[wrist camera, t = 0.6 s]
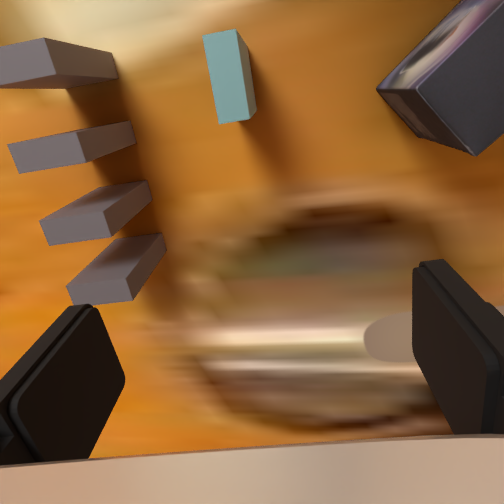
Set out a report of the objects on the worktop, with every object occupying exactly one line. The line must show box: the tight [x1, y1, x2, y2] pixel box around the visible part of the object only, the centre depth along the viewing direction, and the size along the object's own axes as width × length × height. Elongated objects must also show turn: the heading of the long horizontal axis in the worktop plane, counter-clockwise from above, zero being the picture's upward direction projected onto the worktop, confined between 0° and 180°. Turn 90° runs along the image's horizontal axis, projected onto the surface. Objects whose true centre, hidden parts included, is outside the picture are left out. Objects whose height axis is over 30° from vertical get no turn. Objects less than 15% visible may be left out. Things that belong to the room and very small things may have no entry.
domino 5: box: [202, 29, 257, 124], centre depth 27 cm, size 2×5×10 cm, turn 9°
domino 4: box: [66, 233, 167, 305], centre depth 34 cm, size 2×5×10 cm, turn 99°
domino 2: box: [7, 121, 136, 174], centre depth 30 cm, size 2×5×10 cm, turn 99°
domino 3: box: [39, 180, 152, 246], centre depth 32 cm, size 2×5×10 cm, turn 99°
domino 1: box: [0, 38, 118, 89], centre depth 27 cm, size 2×5×10 cm, turn 99°
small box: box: [376, 0, 504, 156], centre depth 25 cm, size 11×6×10 cm, turn 138°
